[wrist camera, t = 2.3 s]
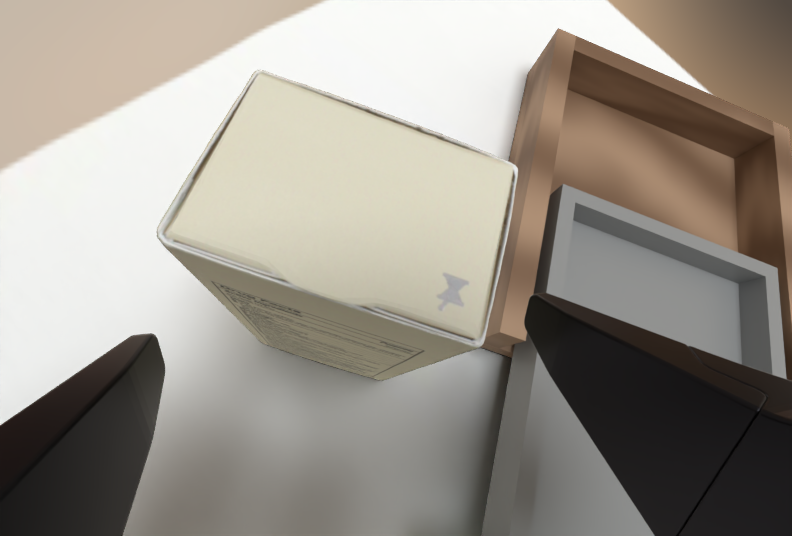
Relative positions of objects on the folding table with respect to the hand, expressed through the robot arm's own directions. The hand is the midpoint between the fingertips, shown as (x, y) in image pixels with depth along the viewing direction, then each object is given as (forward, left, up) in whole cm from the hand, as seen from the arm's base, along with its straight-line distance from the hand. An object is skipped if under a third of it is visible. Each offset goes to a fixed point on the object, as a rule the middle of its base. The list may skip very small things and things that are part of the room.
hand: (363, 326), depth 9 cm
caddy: (+12, -14, -9) cm, 21 cm away
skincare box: (+2, +1, -10) cm, 10 cm away
